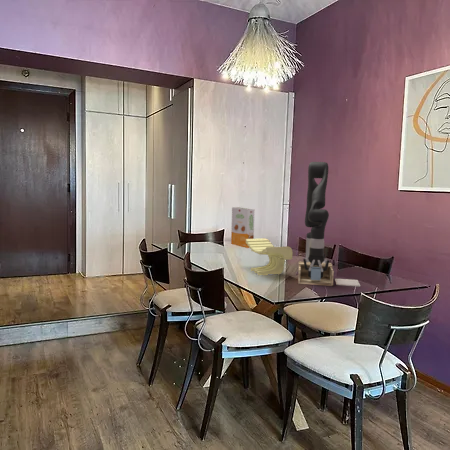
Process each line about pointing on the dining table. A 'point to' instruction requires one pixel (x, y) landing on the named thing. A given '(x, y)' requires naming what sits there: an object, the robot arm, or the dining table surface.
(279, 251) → the slatted curved stool
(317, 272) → the block
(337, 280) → the mat
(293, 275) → the dining table surface
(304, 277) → the cubby
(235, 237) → the cereal box
